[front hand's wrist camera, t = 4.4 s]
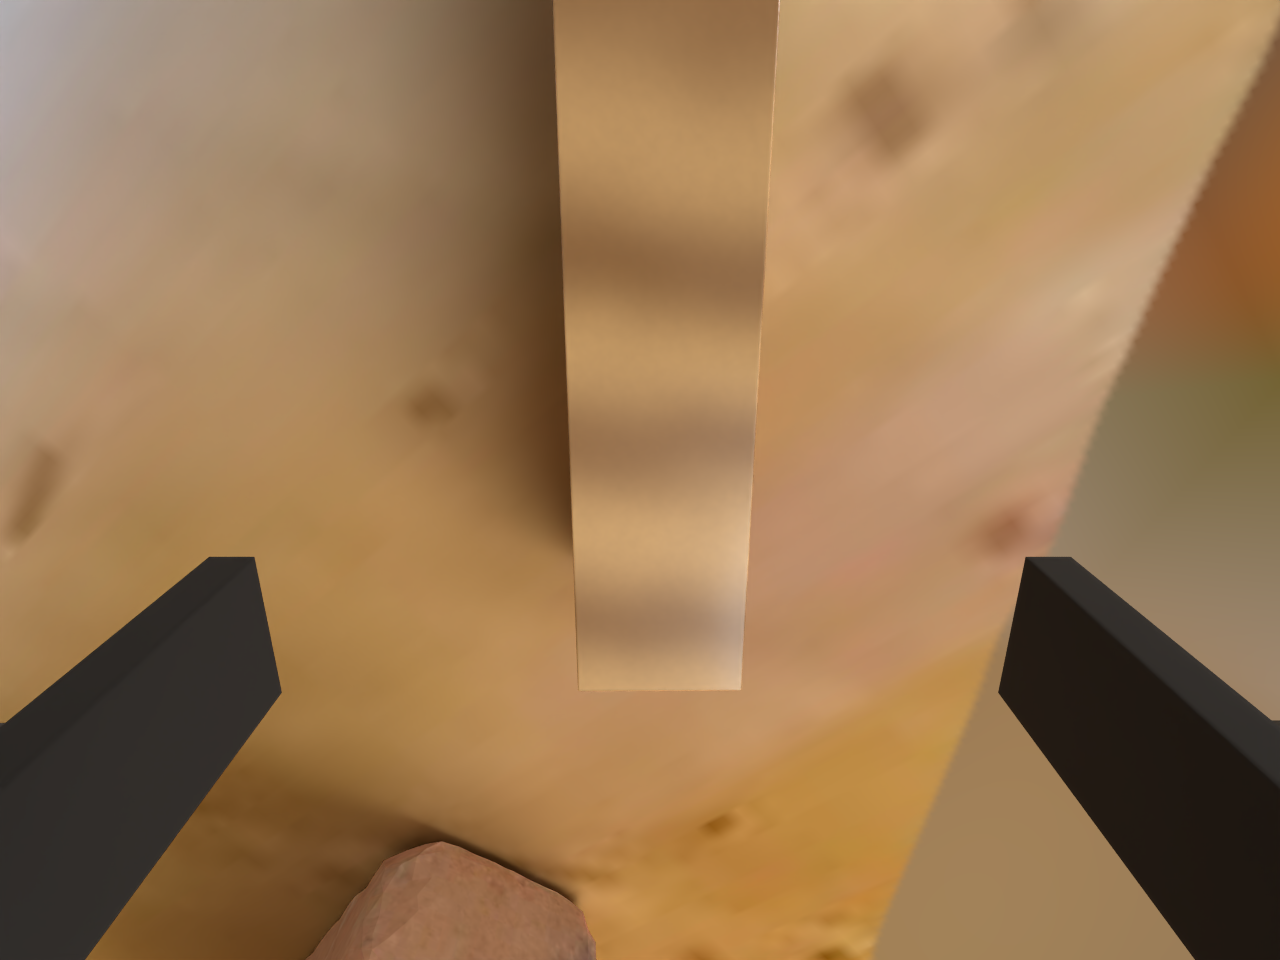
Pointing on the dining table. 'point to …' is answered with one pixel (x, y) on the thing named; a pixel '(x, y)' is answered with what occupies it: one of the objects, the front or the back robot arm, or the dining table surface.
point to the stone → (455, 913)
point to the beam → (663, 326)
